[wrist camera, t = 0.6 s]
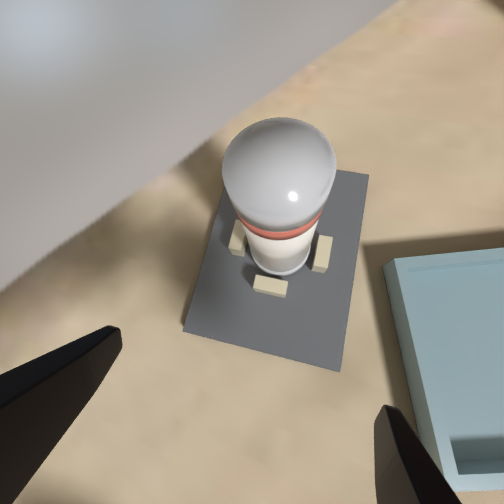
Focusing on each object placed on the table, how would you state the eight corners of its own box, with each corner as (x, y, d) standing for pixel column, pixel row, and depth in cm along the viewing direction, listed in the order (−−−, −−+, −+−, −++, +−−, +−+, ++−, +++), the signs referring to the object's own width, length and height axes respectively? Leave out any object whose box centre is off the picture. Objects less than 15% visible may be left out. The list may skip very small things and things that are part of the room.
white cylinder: (312, 274, 22) (345, 210, 11) (254, 280, 22) (224, 224, 11) (304, 220, 23) (326, 110, 12) (249, 226, 24) (219, 125, 12)
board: (337, 370, 21) (345, 375, 18) (186, 331, 23) (174, 331, 20) (365, 180, 25) (375, 162, 22) (235, 161, 27) (230, 142, 24)
